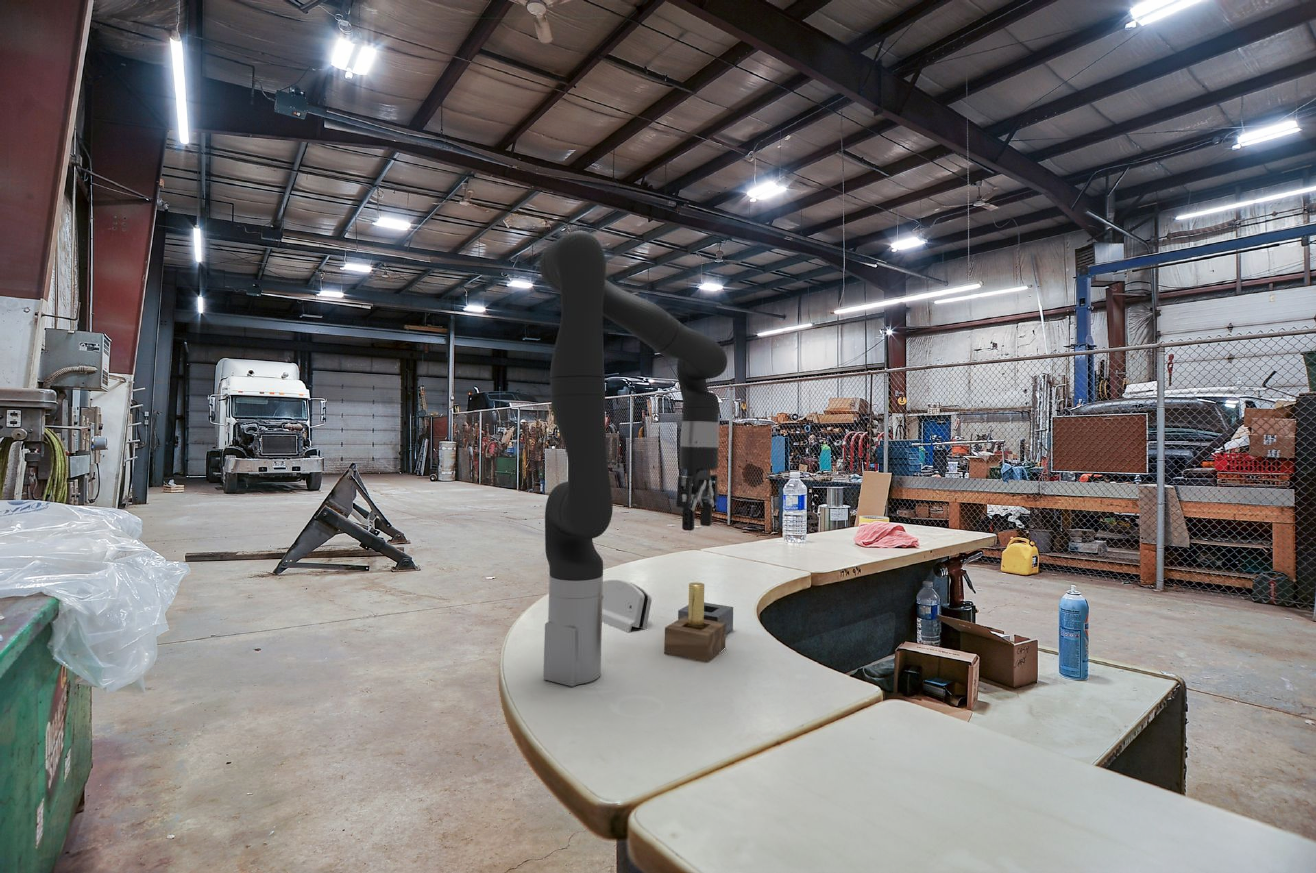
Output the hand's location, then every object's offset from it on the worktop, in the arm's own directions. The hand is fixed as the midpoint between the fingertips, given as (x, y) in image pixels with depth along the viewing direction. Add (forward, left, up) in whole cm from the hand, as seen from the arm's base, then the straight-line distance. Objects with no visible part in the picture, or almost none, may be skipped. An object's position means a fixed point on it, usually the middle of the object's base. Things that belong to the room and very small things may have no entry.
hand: (697, 527), depth 117 cm
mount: (0, 0, -24) cm, 24 cm away
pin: (0, 0, -24) cm, 24 cm away
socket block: (+12, +3, -24) cm, 27 cm away
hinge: (+9, +23, -24) cm, 35 cm away
